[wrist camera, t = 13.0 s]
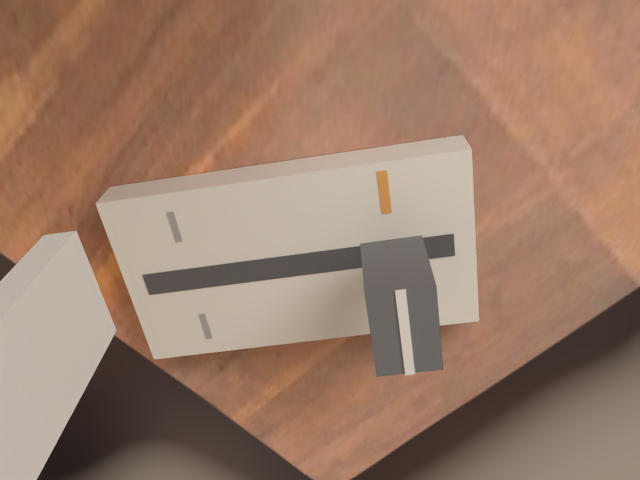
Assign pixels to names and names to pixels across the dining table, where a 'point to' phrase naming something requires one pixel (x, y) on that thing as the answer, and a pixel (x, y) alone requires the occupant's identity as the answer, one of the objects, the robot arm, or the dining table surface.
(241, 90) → the dining table surface
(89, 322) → the robot arm
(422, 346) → the fader knob
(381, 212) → the console
